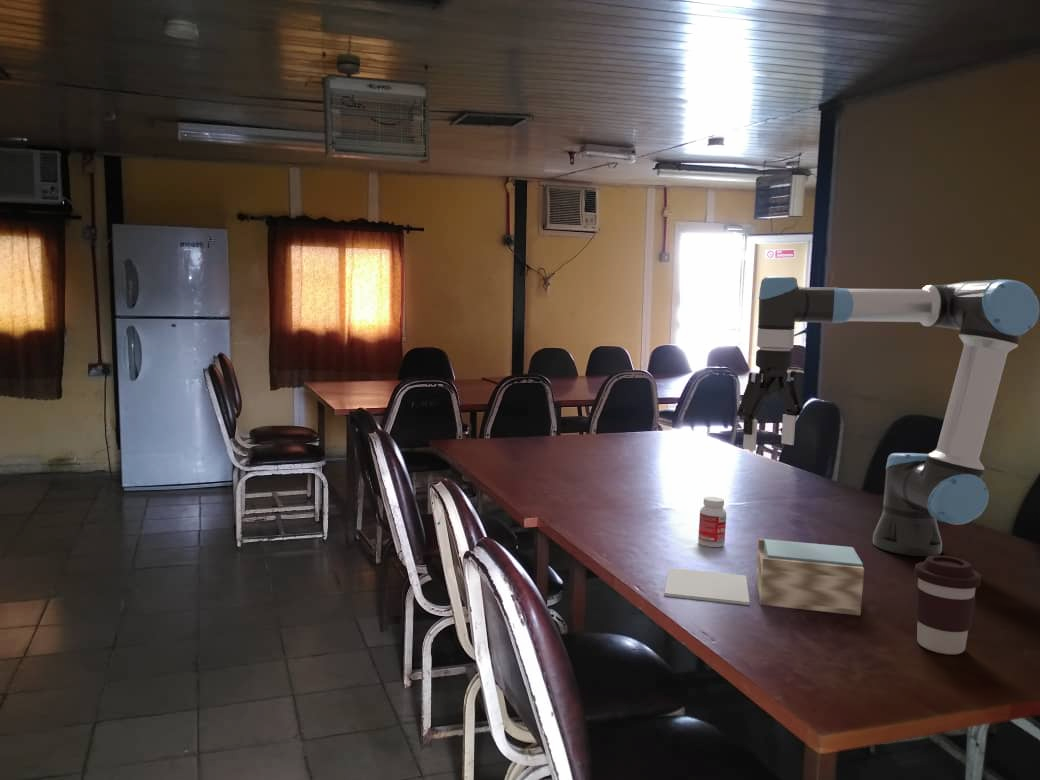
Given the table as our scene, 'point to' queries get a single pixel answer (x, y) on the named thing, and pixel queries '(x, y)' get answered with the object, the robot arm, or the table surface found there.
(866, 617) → the table surface
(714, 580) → the mat
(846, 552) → the lid
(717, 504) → the pill bottle
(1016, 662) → the table surface
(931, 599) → the coffee cup
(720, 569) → the table surface
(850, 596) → the box
